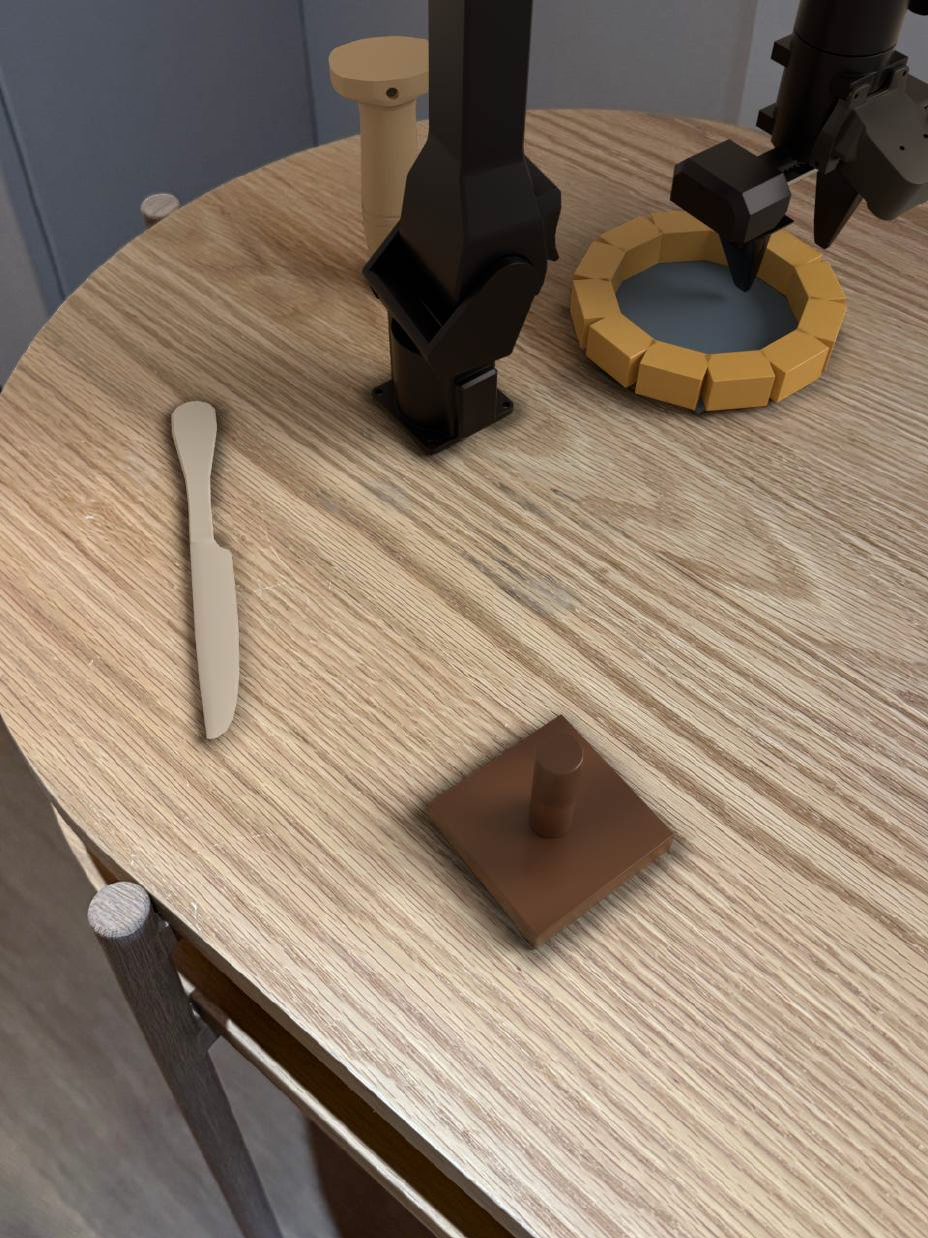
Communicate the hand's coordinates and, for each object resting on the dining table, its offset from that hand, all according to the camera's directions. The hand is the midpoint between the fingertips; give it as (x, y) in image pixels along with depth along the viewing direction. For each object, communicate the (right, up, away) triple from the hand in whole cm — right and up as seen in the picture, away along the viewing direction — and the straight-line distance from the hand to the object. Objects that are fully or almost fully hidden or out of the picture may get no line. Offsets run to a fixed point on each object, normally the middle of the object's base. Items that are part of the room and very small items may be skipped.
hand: (782, 266), depth 76 cm
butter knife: (-35, -20, -13) cm, 43 cm away
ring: (-6, -4, -2) cm, 7 cm away
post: (-17, -33, -23) cm, 44 cm away
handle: (-26, 0, +1) cm, 26 cm away
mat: (-6, -4, -2) cm, 7 cm away
